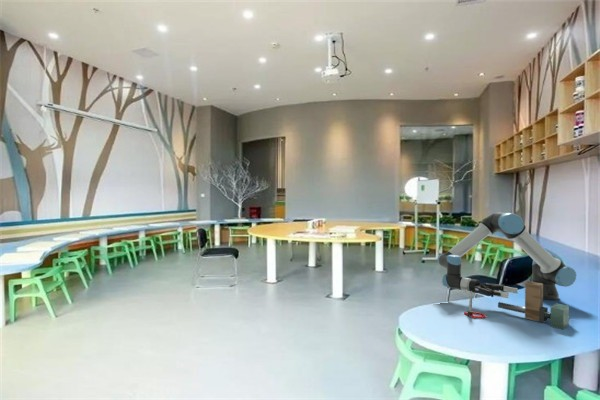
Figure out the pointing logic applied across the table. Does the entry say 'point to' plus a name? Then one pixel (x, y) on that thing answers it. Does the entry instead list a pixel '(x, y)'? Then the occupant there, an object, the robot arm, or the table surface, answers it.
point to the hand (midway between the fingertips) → (512, 293)
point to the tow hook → (470, 313)
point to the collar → (542, 314)
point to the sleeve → (533, 300)
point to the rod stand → (546, 314)
